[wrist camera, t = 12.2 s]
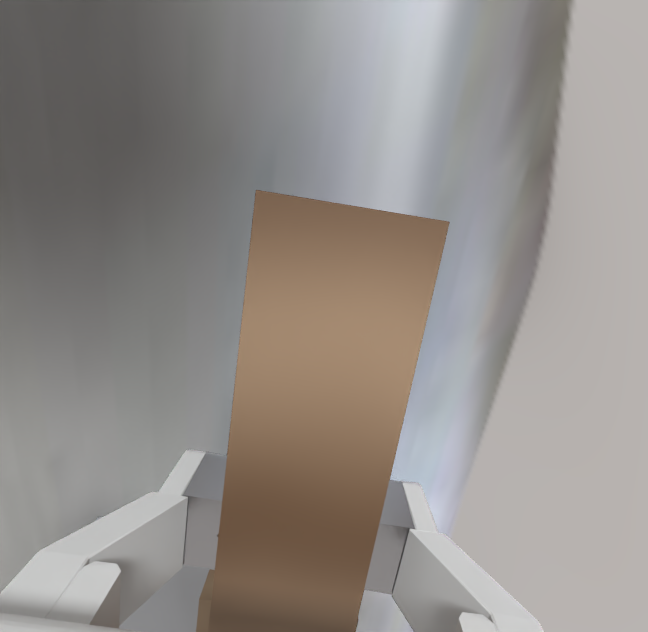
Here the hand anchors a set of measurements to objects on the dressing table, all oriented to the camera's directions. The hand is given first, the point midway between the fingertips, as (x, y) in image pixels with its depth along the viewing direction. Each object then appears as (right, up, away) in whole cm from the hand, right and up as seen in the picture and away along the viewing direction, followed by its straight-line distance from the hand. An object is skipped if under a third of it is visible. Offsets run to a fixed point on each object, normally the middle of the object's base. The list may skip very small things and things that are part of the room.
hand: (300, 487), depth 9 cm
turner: (0, -2, +2) cm, 3 cm away
